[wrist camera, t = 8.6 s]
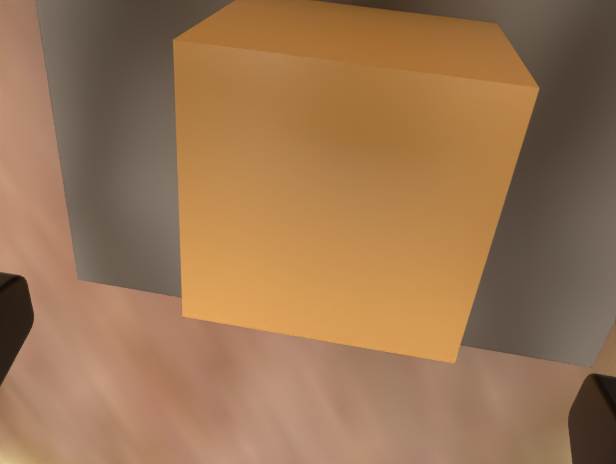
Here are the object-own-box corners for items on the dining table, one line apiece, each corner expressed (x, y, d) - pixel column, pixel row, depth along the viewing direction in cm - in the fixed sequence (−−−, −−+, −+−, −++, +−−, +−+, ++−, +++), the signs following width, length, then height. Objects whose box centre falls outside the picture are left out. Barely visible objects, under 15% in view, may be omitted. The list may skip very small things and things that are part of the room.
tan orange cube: (497, 23, 16) (539, 88, 10) (442, 238, 19) (454, 363, 14) (247, -8, 16) (173, 39, 11) (240, 207, 20) (182, 316, 15)
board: (813, -149, 14) (845, -151, 13) (583, 345, 22) (592, 367, 21) (27, -224, 15) (0, -231, 14) (92, 262, 24) (78, 279, 23)
